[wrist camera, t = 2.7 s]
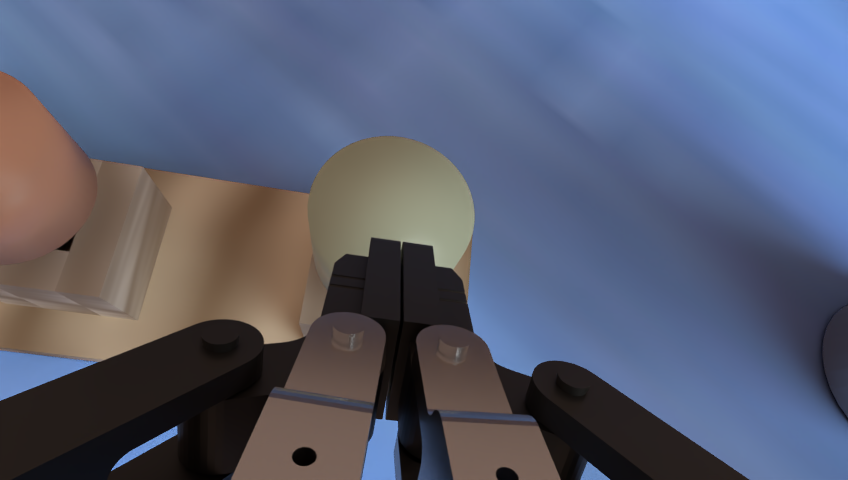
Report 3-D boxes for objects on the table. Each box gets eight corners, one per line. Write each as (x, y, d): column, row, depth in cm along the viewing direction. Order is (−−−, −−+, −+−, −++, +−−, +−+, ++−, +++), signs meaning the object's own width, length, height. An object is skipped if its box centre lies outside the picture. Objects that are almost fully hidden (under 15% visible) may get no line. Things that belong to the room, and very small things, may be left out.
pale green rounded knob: (444, 222, 25) (479, 150, 19) (433, 338, 23) (468, 301, 17) (327, 204, 25) (323, 124, 19) (305, 321, 23) (292, 276, 17)
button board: (467, 229, 32) (494, 183, 26) (453, 404, 28) (482, 395, 22) (39, 163, 29) (-32, 97, 24) (-38, 345, 26) (-142, 319, 20)
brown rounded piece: (140, 174, 24) (70, 81, 18) (100, 294, 22) (5, 236, 16) (8, 154, 24) (-112, 50, 17) (-45, 275, 21) (-205, 206, 15)
